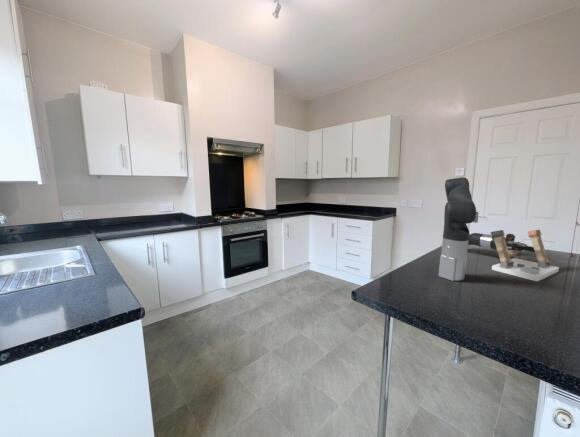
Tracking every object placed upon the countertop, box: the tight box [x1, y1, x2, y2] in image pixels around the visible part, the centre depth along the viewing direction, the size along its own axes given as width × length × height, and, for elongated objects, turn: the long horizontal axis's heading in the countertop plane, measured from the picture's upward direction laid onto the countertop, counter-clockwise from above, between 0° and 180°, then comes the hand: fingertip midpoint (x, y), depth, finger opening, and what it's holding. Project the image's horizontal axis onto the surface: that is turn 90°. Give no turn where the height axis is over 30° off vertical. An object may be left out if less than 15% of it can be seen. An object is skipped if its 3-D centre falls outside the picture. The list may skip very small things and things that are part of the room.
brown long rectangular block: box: [527, 229, 550, 266], centre depth 116 cm, size 6×3×17 cm, turn 118°
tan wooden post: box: [490, 229, 512, 266], centre depth 115 cm, size 6×3×17 cm, turn 118°
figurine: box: [505, 233, 518, 257], centre depth 140 cm, size 7×7×12 cm
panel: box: [491, 257, 560, 282], centre depth 115 cm, size 24×16×4 cm, turn 118°
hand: (536, 249), depth 117 cm, fingers closed
